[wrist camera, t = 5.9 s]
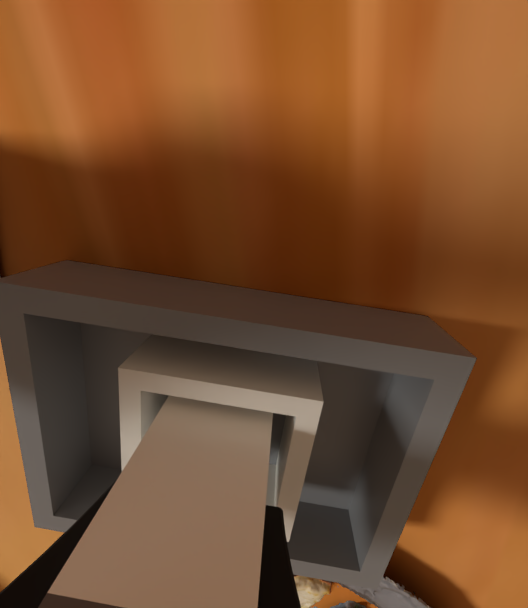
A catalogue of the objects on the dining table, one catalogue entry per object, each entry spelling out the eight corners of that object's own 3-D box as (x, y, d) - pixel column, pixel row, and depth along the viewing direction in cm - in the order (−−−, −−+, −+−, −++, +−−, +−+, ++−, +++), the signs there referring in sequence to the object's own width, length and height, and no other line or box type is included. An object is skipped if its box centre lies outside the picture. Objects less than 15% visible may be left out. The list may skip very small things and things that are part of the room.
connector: (174, 456, 14) (-17, 877, 5) (177, 381, 12) (-74, 787, 4) (261, 471, 13) (212, 929, 5) (274, 397, 12) (237, 855, 4)
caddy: (84, 462, 17) (31, 531, 14) (66, 260, 13) (-16, 282, 10) (359, 511, 17) (378, 595, 13) (427, 316, 13) (480, 361, 9)
